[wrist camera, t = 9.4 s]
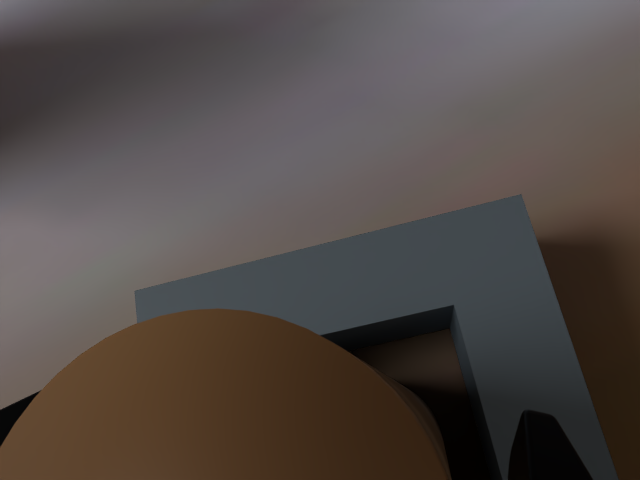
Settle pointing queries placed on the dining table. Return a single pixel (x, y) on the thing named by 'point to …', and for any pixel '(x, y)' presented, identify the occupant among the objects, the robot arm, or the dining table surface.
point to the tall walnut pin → (223, 409)
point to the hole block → (429, 313)
